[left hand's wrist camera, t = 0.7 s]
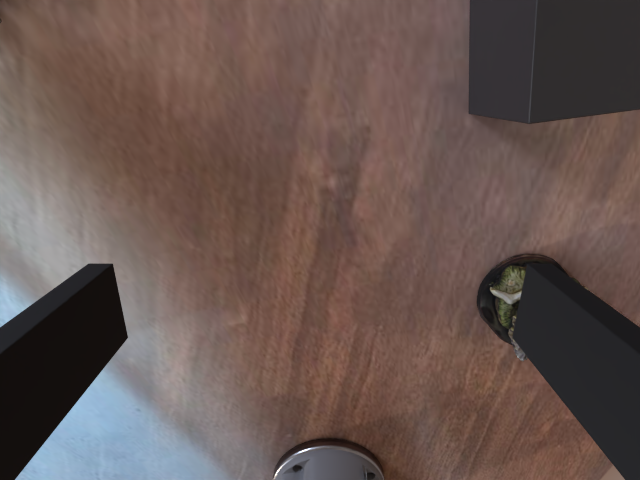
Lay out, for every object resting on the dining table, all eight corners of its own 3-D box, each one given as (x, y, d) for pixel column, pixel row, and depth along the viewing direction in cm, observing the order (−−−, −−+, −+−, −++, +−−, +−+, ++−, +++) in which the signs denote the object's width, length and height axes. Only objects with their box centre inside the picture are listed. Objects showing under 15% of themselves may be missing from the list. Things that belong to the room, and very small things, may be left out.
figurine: (580, 331, 45) (698, 442, 31) (486, 354, 46) (558, 470, 32) (573, 240, 40) (706, 320, 26) (470, 268, 42) (545, 358, 28)
